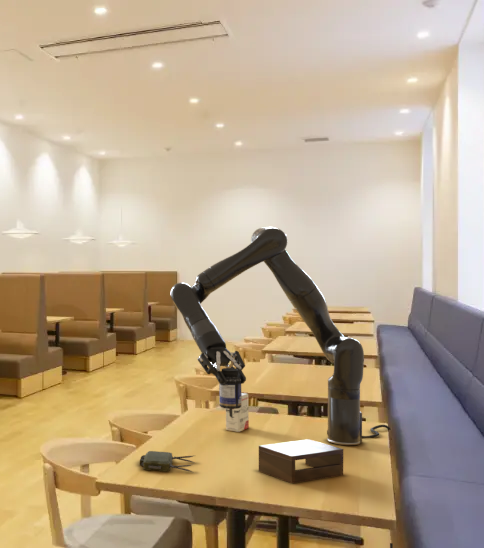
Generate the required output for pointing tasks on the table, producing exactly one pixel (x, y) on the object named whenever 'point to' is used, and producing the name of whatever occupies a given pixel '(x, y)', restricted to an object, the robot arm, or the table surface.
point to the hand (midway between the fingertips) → (234, 382)
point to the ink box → (238, 416)
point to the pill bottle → (230, 389)
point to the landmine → (161, 461)
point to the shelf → (283, 455)
